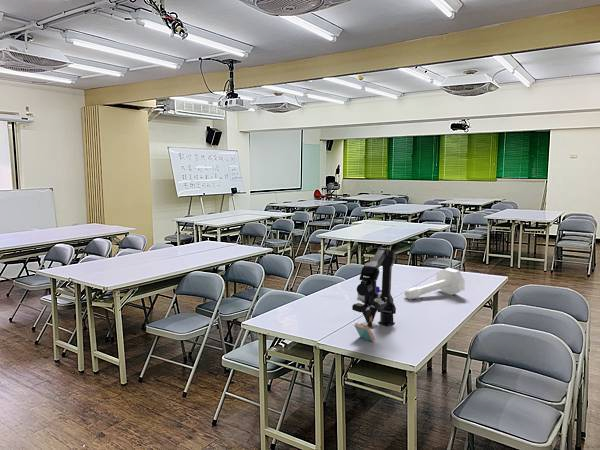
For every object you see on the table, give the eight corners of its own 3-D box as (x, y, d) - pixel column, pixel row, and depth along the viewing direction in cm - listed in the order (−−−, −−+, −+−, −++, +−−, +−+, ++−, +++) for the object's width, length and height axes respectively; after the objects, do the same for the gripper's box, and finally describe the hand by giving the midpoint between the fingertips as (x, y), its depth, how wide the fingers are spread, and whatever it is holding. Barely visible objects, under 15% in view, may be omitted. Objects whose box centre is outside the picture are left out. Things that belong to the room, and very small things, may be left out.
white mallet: (394, 281, 302) (437, 268, 314) (401, 307, 301) (444, 293, 313) (414, 281, 279) (460, 266, 291) (422, 309, 278) (468, 293, 290)
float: (360, 324, 226) (360, 313, 225) (367, 322, 229) (367, 311, 228) (372, 329, 219) (372, 317, 219) (379, 327, 222) (379, 315, 222)
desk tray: (356, 298, 295) (356, 292, 294) (376, 294, 305) (376, 288, 305) (368, 302, 287) (368, 296, 286) (388, 297, 297) (388, 291, 297)
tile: (359, 337, 227) (354, 325, 224) (362, 334, 228) (356, 322, 225) (373, 342, 220) (367, 330, 217) (375, 339, 221) (369, 327, 218)
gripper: (368, 297, 210) (367, 330, 212) (395, 291, 221) (395, 322, 223) (351, 292, 219) (351, 324, 221) (379, 286, 230) (378, 316, 232)
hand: (369, 322), depth 224 cm, fingers closed on float, 2 cm apart
